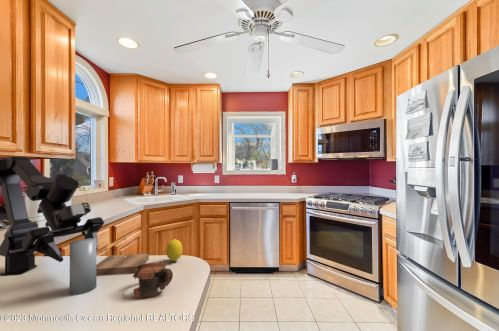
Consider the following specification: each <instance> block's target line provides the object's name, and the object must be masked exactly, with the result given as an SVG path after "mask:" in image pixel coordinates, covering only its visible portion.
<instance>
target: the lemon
mask: <svg viewBox="0 0 499 331" xmlns="http://www.w3.org/2000/svg"><path fill="white" fill-rule="evenodd" d="M165 251H166V253H165V254H166V257H167V258H168V259H169V260H171V261H173V262H176V261H177V260H179V259H180V258H181V256H182V255H183V244H182V242H181V241H180V240H178V239H176V238H173V239H172V240H170V241H169V242H168V244H167V246H166V250H165Z"/></svg>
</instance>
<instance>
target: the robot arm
mask: <svg viewBox="0 0 499 331" xmlns="http://www.w3.org/2000/svg"><path fill="white" fill-rule="evenodd" d="M21 181H22V182H23V183H24V184H25V186H26V188H25V194H26V197H27V198H28V199H29V200H30V201H31V202H36V201H38V202H39V201H40V203H39V204H38V208H37V214H42V216H43V217H44V219H45V220H46V221H45V224H44V225H45V226H41V227H39V224H38V222H37V221H32V220H30V219H29V215H28V212H27V211H28V210H27V207H26V203H25V198H24V195H23V190H22V187H21ZM79 185H80V184H79V181H78V180H76V179H74V178H72V177H69V176H67V175H66V174H62V173H61V174H59V173H58V174H57V176H56V177H55V179H53V178H51V177H47V176H44V174H43V173H41V171H40V170H39V169H38V168H37V167H36V166H35V165H34V164H33V163H32V162H31V159H30V157H27V156H15V155H14V156H8V157H6V158H3V159H0V189H1V193H2V199H3V202H4V207H5V211H6V216H7V221H8V225H9V226H8V228H7V229H6V231H5V233H4V235H3V236H4V238H3V240H2V241H1V243H0V257H1V256H2V257H3V258H4V271H3V272H1V273H0V276H7V275H8V276H9V275H21V274H25V273H26V272H28V271H31V270H33V269H34V268H37V267H38V264H36V261H35V260H36V254H34V253H35V252H37V253H39V254H42V255H45V256H47V257H49V258H51V259H53V260H55V261H56V262H59V263H62V262H63V261H64V257H63V254H62V253H61V250H60V249H59V247H58V245H57V244H56V243H55V242H56V241H55V239H56V238H59V237H66V236H70V235H74V234H79V233H81V234H82V236H84V237H83V239H88V238H95V239H96V252H97V251H98V249H99V244H98V242H99V241H98V232H100V230H101V229H102V227H103V225H104V224H105V221H104V219H103V218H102V217H101V216H97V217H93V218H87V219H86V221H85V222H84V223H83V224H80V225H78V224H79V223H80V222H81V221H82V219H81V218H83V217H85V216H86V215H87V214H89V213H90V212H92V207H91V205H90V203H88V202H81V203H79V204H71V205H66V203H68V202H70V201H71V200H72V197H73V196H74V194H75V192H76V191H77V189H78V188H79Z"/></svg>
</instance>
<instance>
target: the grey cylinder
mask: <svg viewBox="0 0 499 331" xmlns="http://www.w3.org/2000/svg"><path fill="white" fill-rule="evenodd" d="M96 265H97V251H96V239H95V238H88V239H84V238H81V239H77V240H73V241H71V242H69V294H70V295H73V296H77V295H83V294H86V293H90V292H91V291H93V290H95V289H96V288H97V275H96Z"/></svg>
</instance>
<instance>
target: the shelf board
mask: <svg viewBox="0 0 499 331" xmlns="http://www.w3.org/2000/svg"><path fill="white" fill-rule="evenodd" d="M149 255H150V254H149V253H139V254H138V253H137V254H136V253H134V254H120V255H119V254H118V255H117V254H116V255H107V257H104V258H103V259H102V260H101V261H99V262H98V263H96V276H106V275H120V274H121V275H123V274H134V273H135V272H136V271H137V270H138V268H137V266H139V265H142V264H146V263H148V261H149V260H150V256H149ZM115 256H116V257H115ZM125 256H126V257H125Z"/></svg>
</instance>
